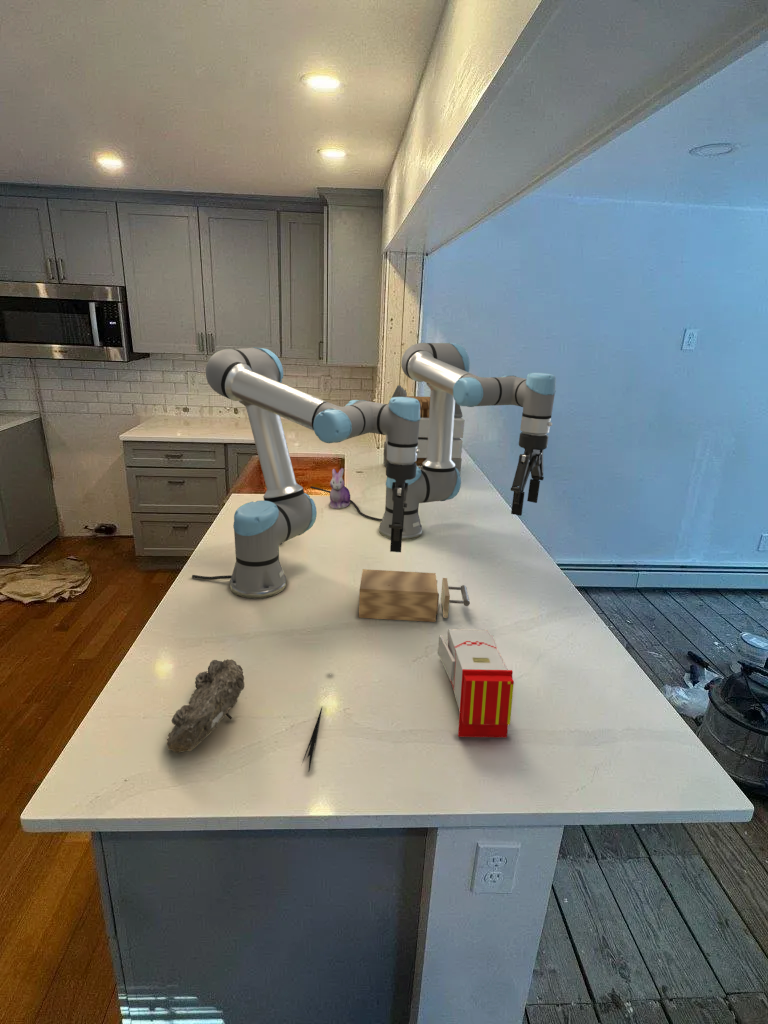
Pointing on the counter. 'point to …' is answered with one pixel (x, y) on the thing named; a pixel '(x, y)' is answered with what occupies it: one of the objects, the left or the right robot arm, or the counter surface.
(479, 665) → the toy
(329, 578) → the counter surface
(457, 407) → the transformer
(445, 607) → the drawer
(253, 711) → the counter surface
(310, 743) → the feather
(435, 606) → the wooden drawer box
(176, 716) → the fossil
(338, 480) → the figurine
